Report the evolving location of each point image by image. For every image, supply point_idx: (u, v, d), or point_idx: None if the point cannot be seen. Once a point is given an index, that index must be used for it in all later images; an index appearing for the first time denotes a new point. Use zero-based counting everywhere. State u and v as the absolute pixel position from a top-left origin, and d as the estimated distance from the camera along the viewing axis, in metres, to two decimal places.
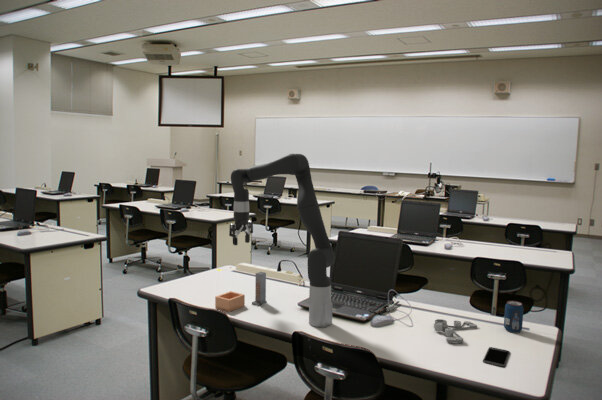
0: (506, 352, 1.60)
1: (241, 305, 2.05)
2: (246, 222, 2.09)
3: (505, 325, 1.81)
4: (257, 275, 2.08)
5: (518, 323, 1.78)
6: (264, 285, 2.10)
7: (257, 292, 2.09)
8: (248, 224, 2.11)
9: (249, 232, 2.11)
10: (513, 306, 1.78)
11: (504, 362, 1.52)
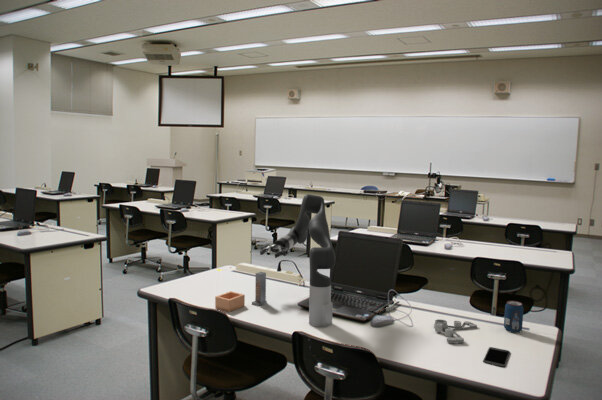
0: (506, 352, 1.60)
1: (241, 305, 2.05)
2: (282, 246, 2.23)
3: (505, 325, 1.81)
4: (257, 275, 2.08)
5: (518, 323, 1.78)
6: (264, 285, 2.10)
7: (257, 292, 2.09)
8: (285, 249, 2.21)
9: (280, 250, 2.18)
10: (513, 306, 1.78)
11: (504, 362, 1.52)
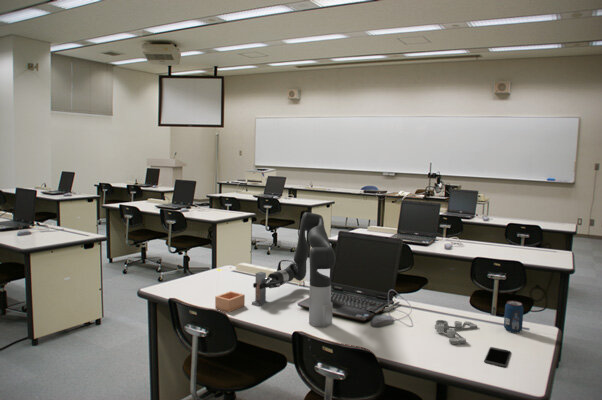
0: (507, 352, 1.60)
1: (241, 305, 2.05)
2: (275, 279, 2.16)
3: (505, 325, 1.81)
4: (257, 275, 2.08)
5: (518, 323, 1.78)
6: None
7: (257, 292, 2.09)
8: None
9: (267, 282, 2.10)
10: (513, 306, 1.78)
11: (505, 362, 1.52)
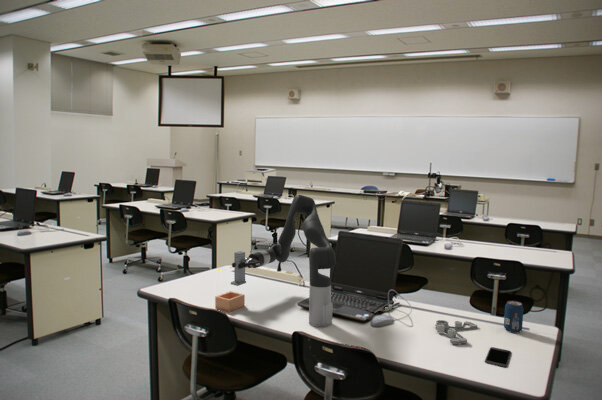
0: (507, 352, 1.60)
1: (241, 305, 2.05)
2: (256, 259, 2.11)
3: (505, 325, 1.81)
4: (236, 254, 2.04)
5: (518, 323, 1.78)
6: None
7: (236, 272, 2.04)
8: None
9: (246, 262, 2.06)
10: (513, 306, 1.78)
11: (506, 362, 1.52)
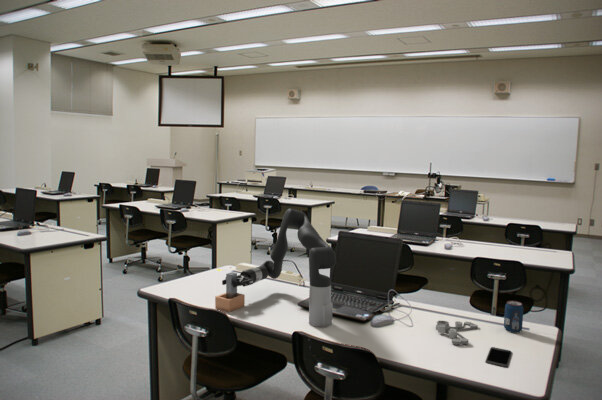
0: (508, 352, 1.60)
1: (241, 305, 2.05)
2: (247, 277, 2.10)
3: (505, 325, 1.81)
4: (228, 276, 2.03)
5: (518, 323, 1.78)
6: None
7: (228, 293, 2.03)
8: None
9: (241, 280, 2.04)
10: (513, 306, 1.78)
11: (506, 363, 1.52)
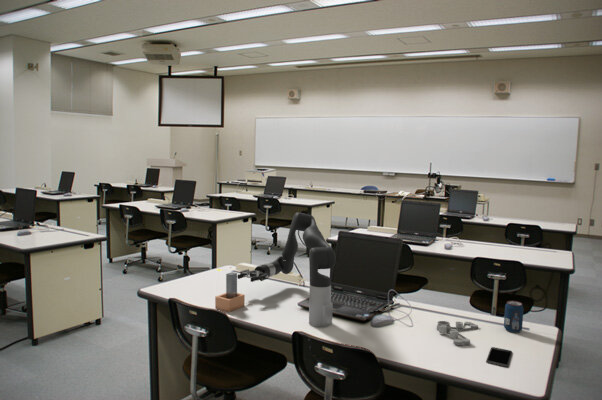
0: (508, 352, 1.60)
1: (241, 305, 2.05)
2: (261, 272, 2.19)
3: (505, 325, 1.81)
4: (228, 276, 2.03)
5: (518, 323, 1.78)
6: (235, 286, 2.05)
7: (228, 293, 2.03)
8: None
9: (258, 275, 2.14)
10: (513, 306, 1.78)
11: (507, 363, 1.52)
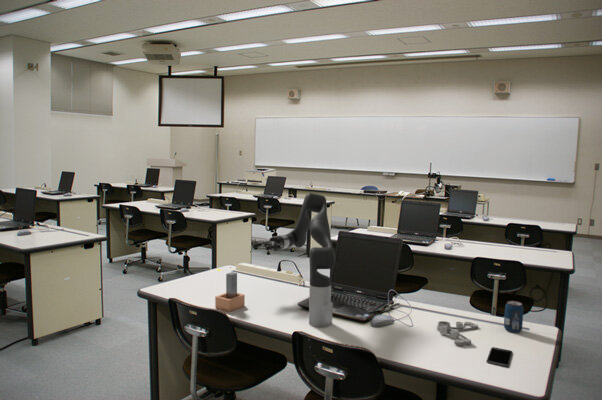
0: (509, 352, 1.60)
1: (241, 305, 2.05)
2: (276, 242, 2.21)
3: (505, 325, 1.81)
4: (228, 276, 2.03)
5: (518, 323, 1.78)
6: (235, 286, 2.05)
7: (228, 293, 2.03)
8: None
9: (273, 244, 2.15)
10: (513, 306, 1.78)
11: (507, 362, 1.52)
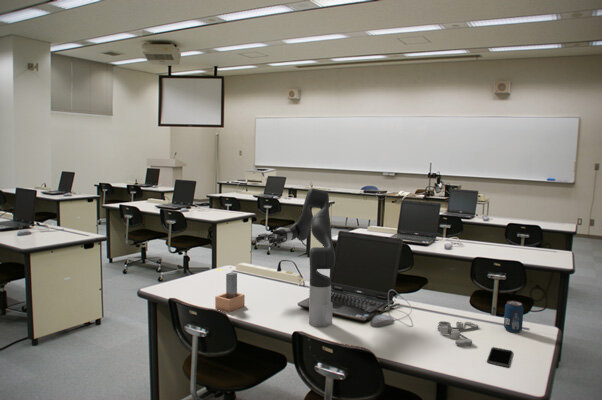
0: (509, 352, 1.60)
1: (241, 305, 2.05)
2: (279, 235, 2.21)
3: (505, 325, 1.81)
4: (228, 276, 2.03)
5: (518, 323, 1.78)
6: (235, 286, 2.05)
7: (228, 293, 2.03)
8: None
9: (276, 237, 2.16)
10: (513, 306, 1.78)
11: (508, 362, 1.52)
